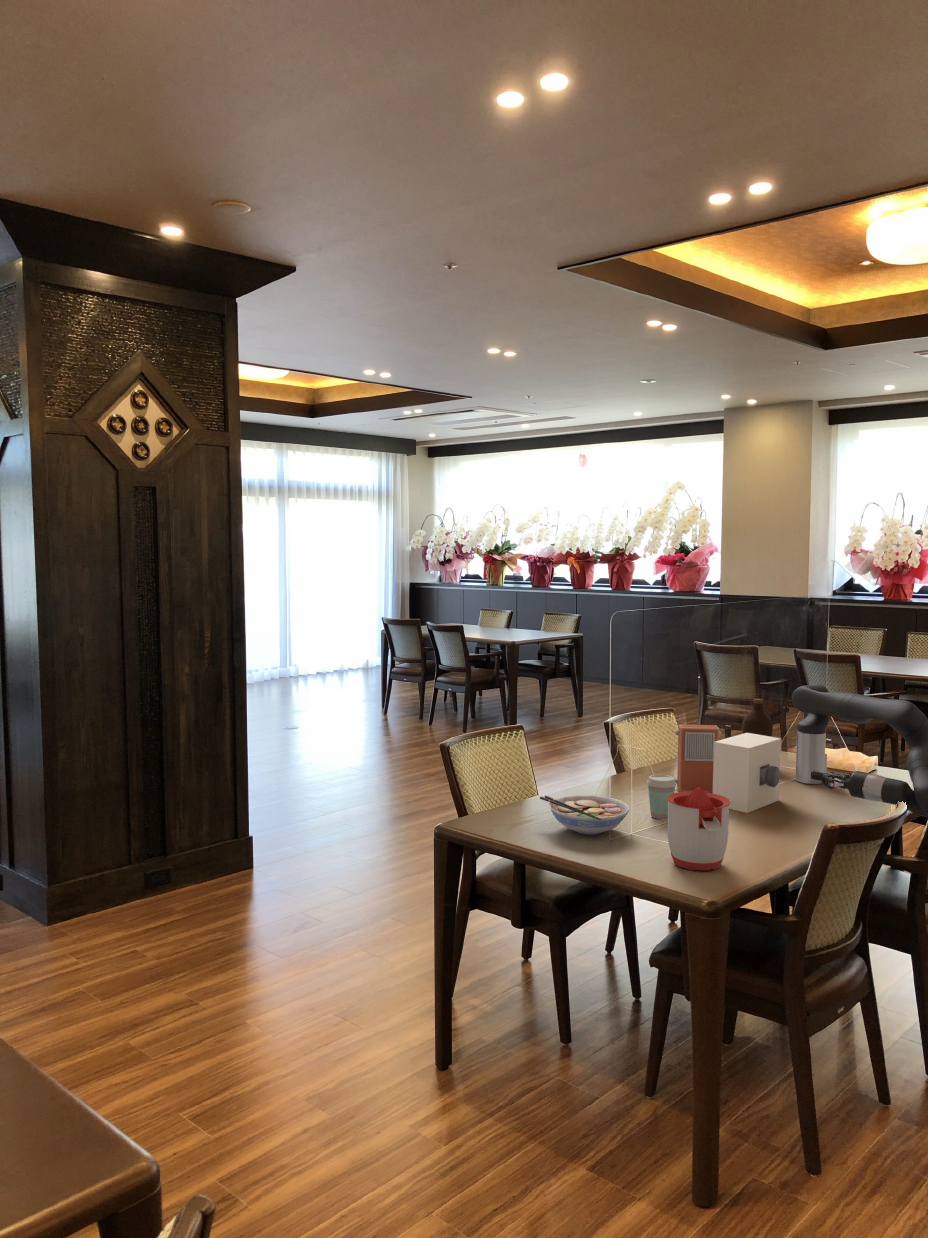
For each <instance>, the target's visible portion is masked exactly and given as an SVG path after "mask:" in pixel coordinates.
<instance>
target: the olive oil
mask: <svg viewBox="0 0 928 1238" xmlns="http://www.w3.org/2000/svg"><path fill="white" fill-rule="evenodd" d="M763 702H764V699H763V698H753V703H752V704H753V706H752V708H753V709H752V710H751V711H750V712H749V713H748V714H747V715H746V716H744V718H743V721H742V726H741V728H742V730H741V731H742V733H741V734H744V733H752V734H758V735H764V736H769V737H773V729H774V725H773V721H772V719H771V717H770V716H769V715H768V714H767V713H766V712H765V710H764V703H763Z"/></svg>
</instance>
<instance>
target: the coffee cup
mask: <svg viewBox="0 0 928 1238" xmlns="http://www.w3.org/2000/svg"><path fill="white" fill-rule="evenodd" d="M675 779H676V778H675V777H674V776H671V775H668V774H652V775H649V776H648V779H647V781H646V784H647V788H648V798H649V801H648V802H649V809H650V817H651V816H652V817H654V818H657V819H656V820H658V819H667V820H668V800H667V797H668V796H669V795H670V794H673V793H675V789H676V787H677V784H676V782H675ZM652 817H651V818H652ZM654 818H653V819H654Z"/></svg>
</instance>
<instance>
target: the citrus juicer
mask: <svg viewBox="0 0 928 1238" xmlns="http://www.w3.org/2000/svg"><path fill="white" fill-rule="evenodd" d="M667 800H668V819H667V842H668V847H669V850H670V855H671V858H672V861H673V863H674V864H675V865H677V866H678V867H681V868H683V869H686V870H688V871H712V870H711V869H713V870H716V869H715V868H717V869H718V868H719V867H720V866H721V864H722V863H723V860H724V857H725V854H726V850H727V845H728V839H729V823H730V822H729V819H730V809H729V805H730V801H729V799H727V798H726V797H723V796H721V795H717V794H713V793H712V792H704V791H703V790H702V789H701V788H696V789H695V790H694V791H685V792H680V791H677V792H674V793H673V794H670V795H669V796H668V797H667Z"/></svg>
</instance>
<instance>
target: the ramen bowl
mask: <svg viewBox="0 0 928 1238" xmlns="http://www.w3.org/2000/svg"><path fill="white" fill-rule="evenodd" d="M539 799H540V800H542V801H545V802H547V803H548V805H549V806H548V807H549V808H550V810H551V813H552V815H553V816H554V818H555V819H556V820H557V822H558V823H559V824H560V825H562V826H563V827H565V828H567V829H568V830H571V831H574V832H575V833H578V834H580V835H585V836H594V835H595V836H596V835H600V834H601V833H604V832H608V831H610V830H613V829H615V828H617V826H619V825H620V823H621V822H622V821H624V819H625V818H626V817H627V816H628V813H629V812H630V810H631V809H630V806H629V805H628V804H627V803H626V802H624V801H623V800H620V799H616V798H611V797H608V796H601V795H593V794H592V795H590V794H586V795H585V794H584V795H583V794H577V795H566V796H562V797H557V798H553V797H550V796H549V795H544V796H539Z"/></svg>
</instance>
